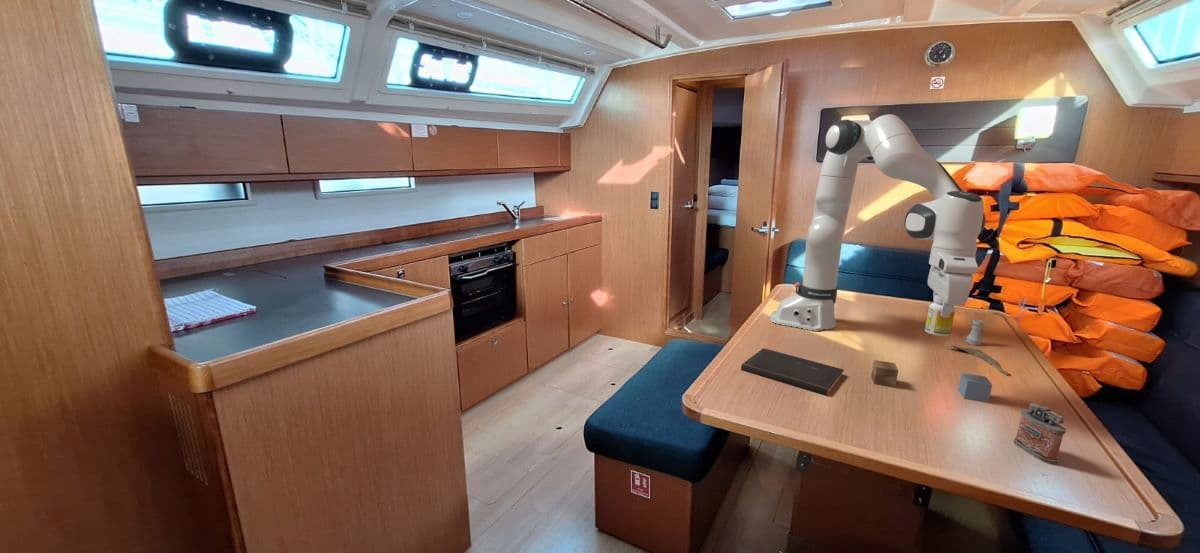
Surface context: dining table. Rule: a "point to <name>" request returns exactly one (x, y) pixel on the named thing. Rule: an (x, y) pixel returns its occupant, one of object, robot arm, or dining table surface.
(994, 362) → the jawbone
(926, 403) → the dining table surface
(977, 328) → the rook chess piece
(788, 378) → the hardcover book
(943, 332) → the supplement bottle
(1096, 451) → the dining table surface
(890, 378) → the walnut block
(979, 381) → the slate-blue block
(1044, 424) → the lighter
